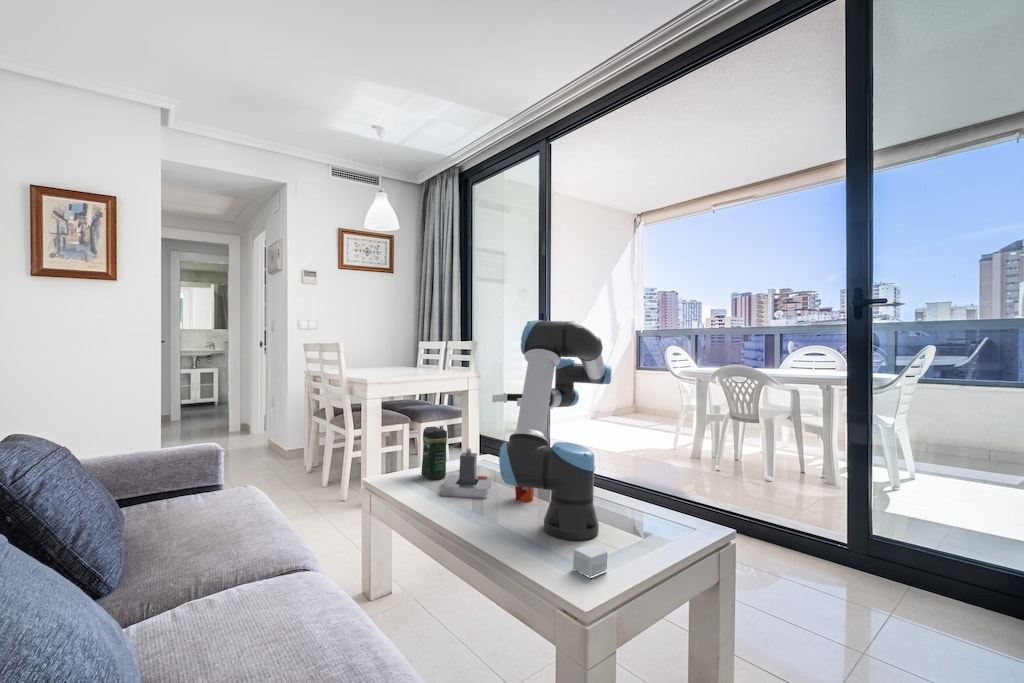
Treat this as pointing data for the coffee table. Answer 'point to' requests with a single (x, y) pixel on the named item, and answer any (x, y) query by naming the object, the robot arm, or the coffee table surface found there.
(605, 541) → the coffee table surface
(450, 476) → the socket plate
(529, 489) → the paper cup
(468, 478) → the plug
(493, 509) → the coffee table surface
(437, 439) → the coffee jar
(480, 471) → the coffee table surface
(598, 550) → the small box
